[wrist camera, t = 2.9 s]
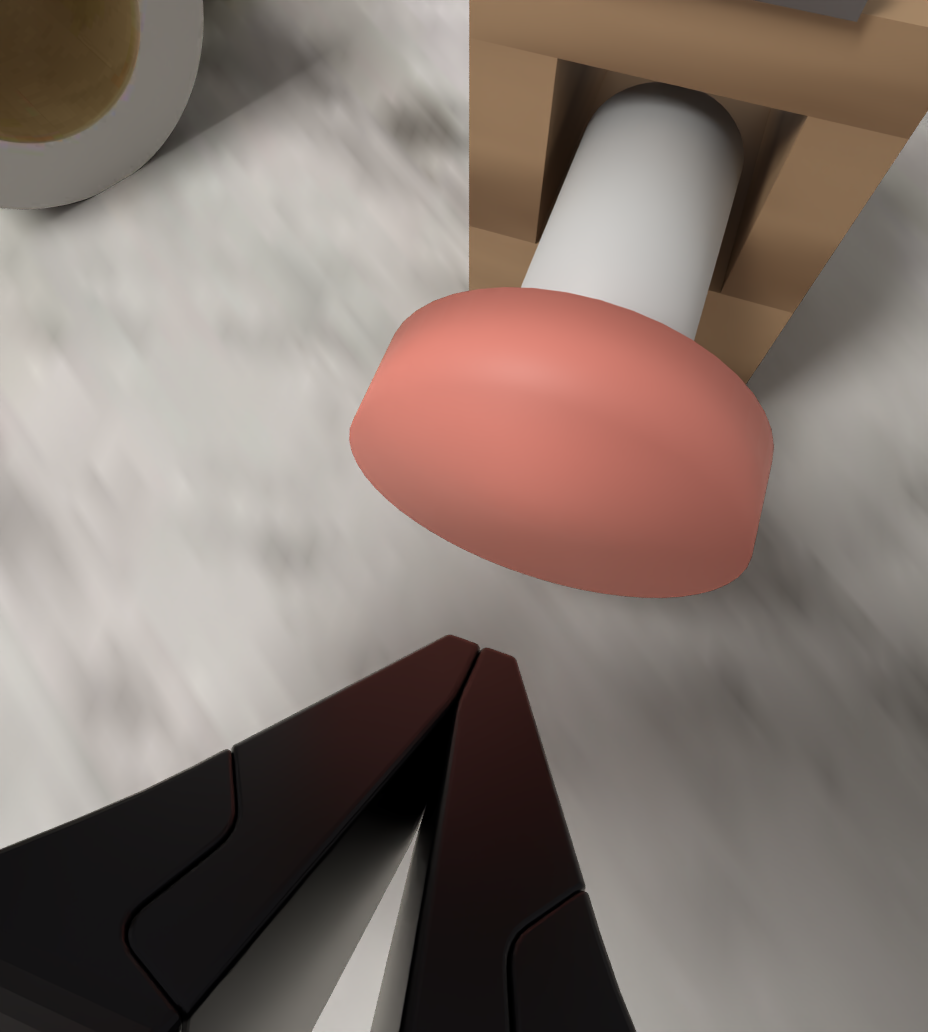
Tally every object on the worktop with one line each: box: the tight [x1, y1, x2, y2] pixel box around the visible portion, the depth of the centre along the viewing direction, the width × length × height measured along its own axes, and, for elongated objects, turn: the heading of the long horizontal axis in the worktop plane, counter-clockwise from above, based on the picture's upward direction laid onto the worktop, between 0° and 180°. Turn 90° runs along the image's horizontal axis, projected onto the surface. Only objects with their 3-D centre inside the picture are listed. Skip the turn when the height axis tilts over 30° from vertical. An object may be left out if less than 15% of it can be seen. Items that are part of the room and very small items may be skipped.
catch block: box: [469, 0, 928, 384], centre depth 15 cm, size 6×7×11 cm
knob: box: [349, 82, 774, 598], centre depth 12 cm, size 8×6×6 cm
